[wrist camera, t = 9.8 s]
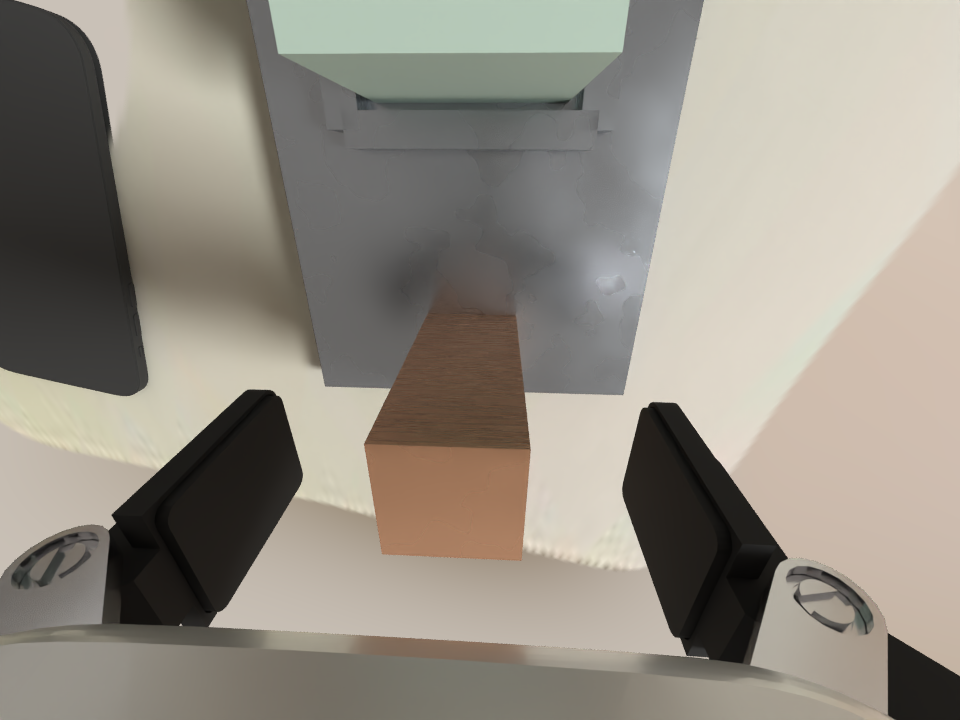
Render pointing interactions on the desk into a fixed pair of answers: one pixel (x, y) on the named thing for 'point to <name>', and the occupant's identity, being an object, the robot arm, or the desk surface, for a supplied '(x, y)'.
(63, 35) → the phone
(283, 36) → the sage block
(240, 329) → the desk surface
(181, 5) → the desk surface
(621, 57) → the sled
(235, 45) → the desk surface
